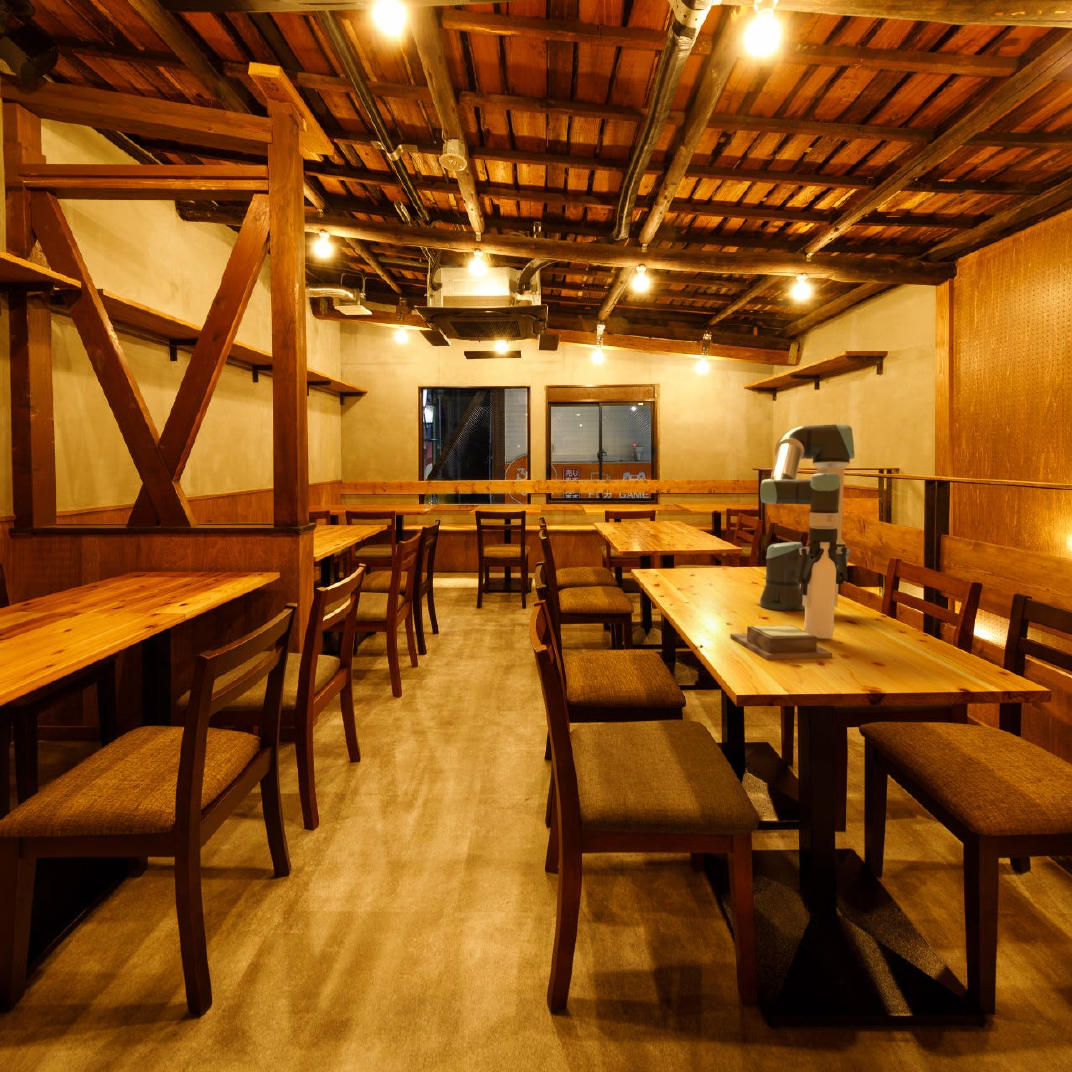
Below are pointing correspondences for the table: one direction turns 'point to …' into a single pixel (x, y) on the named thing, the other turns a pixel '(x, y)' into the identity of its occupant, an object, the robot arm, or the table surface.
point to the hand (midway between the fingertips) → (819, 605)
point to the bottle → (821, 597)
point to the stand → (781, 642)
